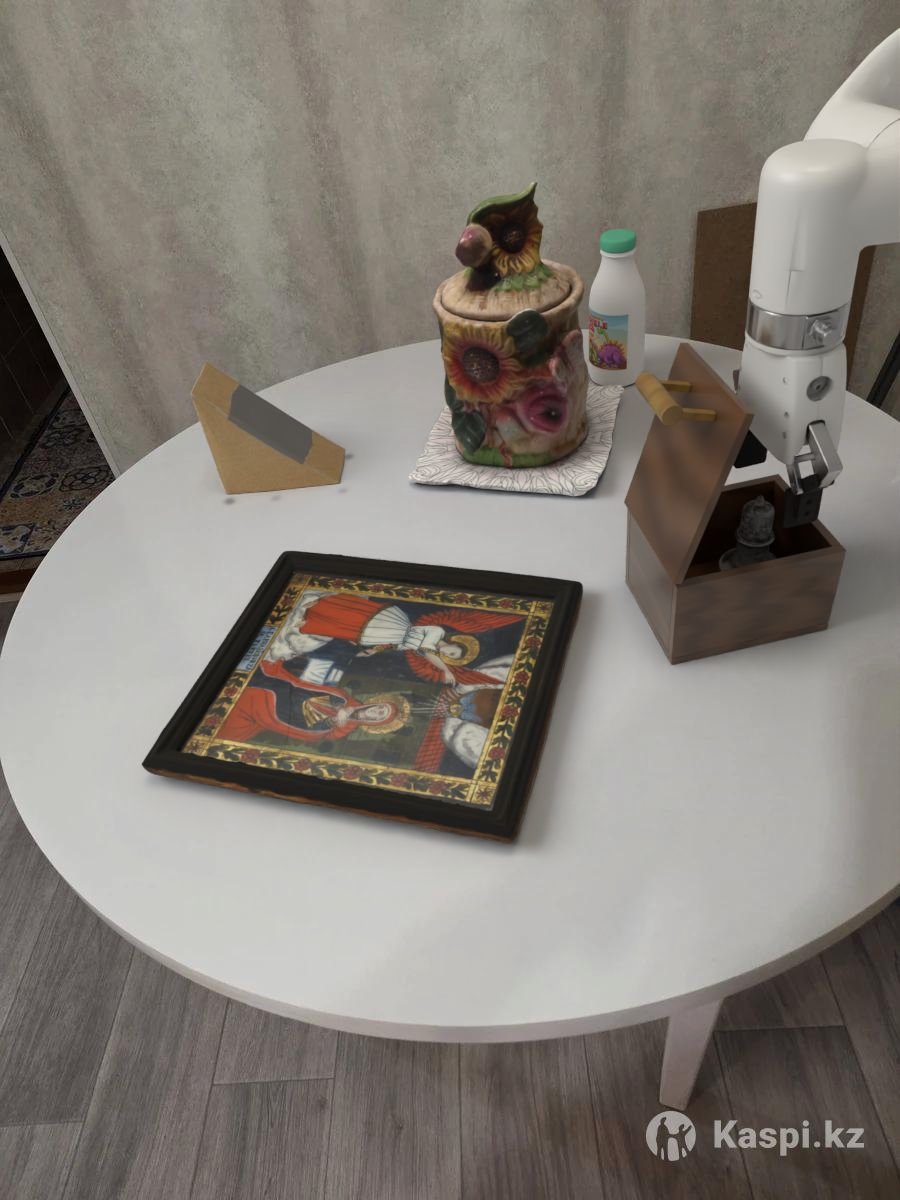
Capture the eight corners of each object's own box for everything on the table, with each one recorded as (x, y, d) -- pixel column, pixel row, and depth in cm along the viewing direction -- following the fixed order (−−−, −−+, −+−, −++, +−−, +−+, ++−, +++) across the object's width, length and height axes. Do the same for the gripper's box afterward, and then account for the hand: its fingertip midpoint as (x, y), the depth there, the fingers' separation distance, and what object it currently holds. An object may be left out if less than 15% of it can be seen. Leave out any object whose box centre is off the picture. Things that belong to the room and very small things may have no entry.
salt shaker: (781, 611, 85) (801, 513, 77) (720, 612, 86) (732, 516, 78) (770, 572, 89) (787, 475, 81) (712, 573, 90) (723, 478, 82)
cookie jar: (455, 391, 126) (426, 156, 105) (625, 397, 120) (631, 146, 98) (404, 490, 109) (356, 232, 88) (599, 503, 103) (599, 228, 81)
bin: (766, 549, 93) (778, 473, 87) (827, 629, 84) (846, 550, 77) (625, 581, 92) (627, 506, 85) (671, 665, 83) (677, 588, 76)
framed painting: (585, 570, 94) (585, 549, 92) (560, 857, 69) (559, 838, 67) (259, 562, 102) (252, 543, 100) (130, 819, 77) (117, 800, 75)
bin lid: (688, 342, 75) (629, 337, 74) (755, 414, 65) (689, 409, 64) (630, 502, 85) (578, 500, 84) (681, 584, 76) (623, 583, 74)
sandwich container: (340, 484, 112) (314, 380, 102) (225, 495, 113) (188, 393, 103) (346, 448, 118) (322, 346, 108) (237, 459, 120) (204, 359, 110)
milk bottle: (619, 357, 128) (622, 218, 115) (654, 375, 123) (661, 233, 110) (578, 374, 126) (575, 235, 113) (611, 394, 121) (613, 250, 107)
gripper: (905, 354, 62) (862, 538, 74) (788, 267, 75) (767, 435, 86) (805, 377, 62) (778, 559, 73) (705, 285, 74) (695, 452, 86)
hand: (772, 492), depth 80 cm, fingers open, 9 cm apart
